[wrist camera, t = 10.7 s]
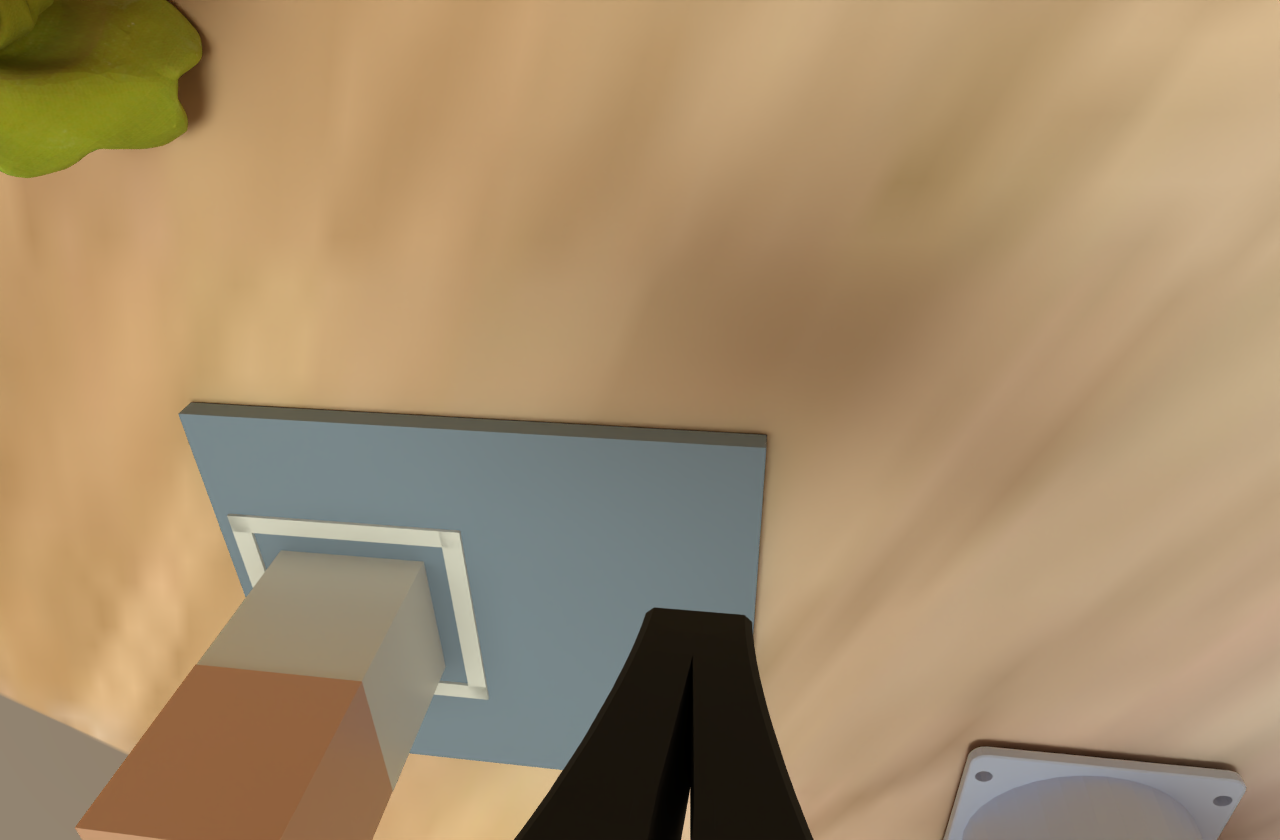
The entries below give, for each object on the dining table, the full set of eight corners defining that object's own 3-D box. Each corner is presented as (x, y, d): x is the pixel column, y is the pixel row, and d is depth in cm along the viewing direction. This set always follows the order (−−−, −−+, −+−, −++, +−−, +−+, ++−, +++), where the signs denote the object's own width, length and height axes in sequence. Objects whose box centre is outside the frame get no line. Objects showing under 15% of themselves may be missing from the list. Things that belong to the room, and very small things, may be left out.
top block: (392, 790, 24) (319, 963, 20) (241, 773, 24) (144, 937, 20) (362, 681, 21) (272, 853, 18) (195, 664, 22) (74, 828, 18)
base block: (445, 666, 27) (393, 791, 24) (314, 654, 28) (242, 774, 24) (423, 561, 25) (361, 682, 21) (281, 550, 26) (195, 665, 22)
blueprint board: (742, 773, 29) (741, 791, 29) (306, 727, 31) (297, 743, 31) (766, 435, 22) (765, 450, 21) (190, 402, 24) (176, 415, 23)
